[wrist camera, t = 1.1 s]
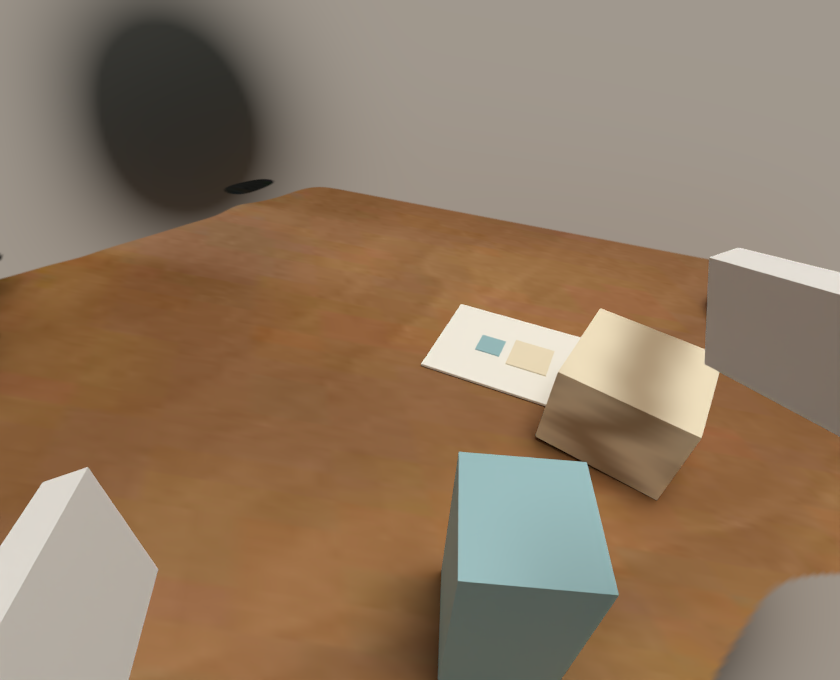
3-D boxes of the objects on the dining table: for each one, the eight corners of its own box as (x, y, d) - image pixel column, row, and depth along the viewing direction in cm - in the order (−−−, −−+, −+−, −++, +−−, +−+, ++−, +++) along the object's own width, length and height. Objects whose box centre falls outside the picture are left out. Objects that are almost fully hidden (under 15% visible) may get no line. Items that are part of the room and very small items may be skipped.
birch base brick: (534, 436, 32) (558, 371, 28) (576, 370, 38) (600, 308, 34) (657, 500, 29) (701, 438, 25) (683, 418, 34) (723, 356, 31)
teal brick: (437, 684, 21) (458, 581, 15) (441, 571, 25) (458, 451, 19) (550, 694, 21) (618, 595, 15) (537, 579, 25) (586, 462, 19)
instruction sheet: (421, 365, 38) (421, 362, 37) (461, 305, 44) (461, 303, 44) (576, 416, 34) (577, 413, 34) (595, 343, 41) (596, 340, 40)
